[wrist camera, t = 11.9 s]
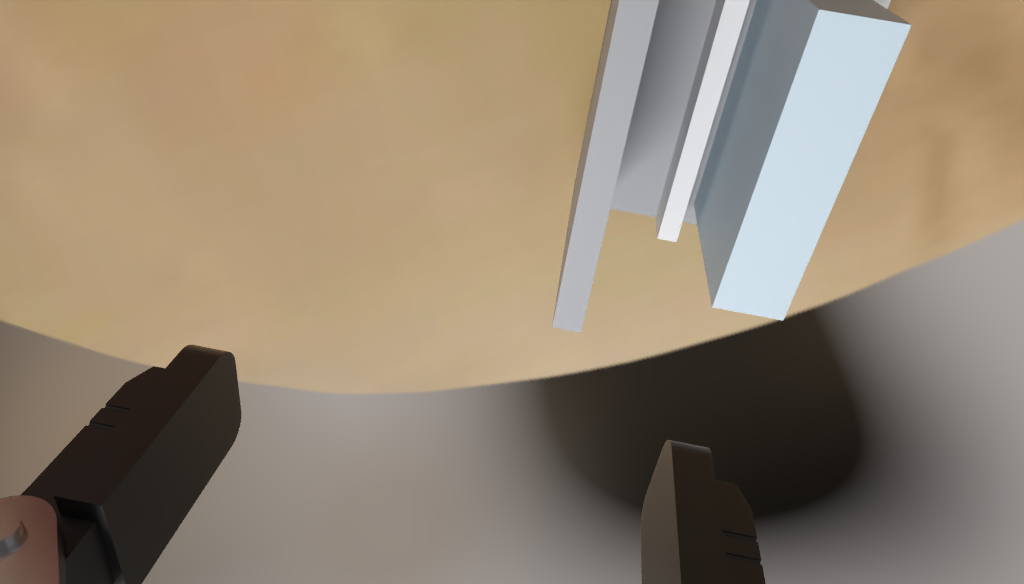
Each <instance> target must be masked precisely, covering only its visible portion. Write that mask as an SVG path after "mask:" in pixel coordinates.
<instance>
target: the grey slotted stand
mask: <svg viewBox="0 0 1024 584" xmlns="http://www.w3.org/2000/svg"><path fill="white" fill-rule="evenodd" d="M756 1H757V0H611V5H610V10H609V15H608V20H607V25H606V30H605V35H604V40H603V45H602V50H601V55H600V60H599V65H598V70H597V75H596V80H595V85H594V90H593V95H592V100H591V105H590V110H589V115H588V120H587V125H586V130H585V135H584V140H583V145H582V150H581V155H580V160H579V165H578V170H577V175H576V180H575V185H574V191H573V197H572V204H571V210H570V217H569V223H568V229H567V236H566V242H565V248H564V255H563V261H562V267H561V274H560V280H559V287H558V293H557V299H556V306H555V312H554V318H553V325H552V327H553V328H559V329H564V330H569V331H574V332H580V333H581V330H582V326H583V322H584V317H585V313H586V309H587V305H588V300H589V296H590V292H591V288H592V283H593V279H594V275H595V271H596V266H597V262H598V258H599V254H600V249H601V245H602V241H603V237H604V232H605V228H606V224H607V220H608V215H609V211H610V209H614V210H620V211H625V212H631V213H636V214H642V215H647V216H653V217H656V227H657V239H662V240H668V241H673V242H676V241H677V238H678V235H679V232H680V228H681V225H682V222H685V223H691V224H696V225H697V220H696V215H695V209H694V202H695V198H696V195H697V192H698V189H699V186H700V182H701V179H702V176H703V173H704V169H705V166H706V163H707V160H708V156H709V153H710V150H711V147H712V144H713V140H714V137H715V134H716V131H717V127H718V124H719V121H720V118H721V114H722V111H723V108H724V105H725V102H726V98H727V95H728V92H729V89H730V85H731V82H732V79H733V76H734V72H735V69H736V66H737V63H738V59H739V56H740V53H741V50H742V47H743V43H744V40H745V37H746V34H747V30H748V27H749V24H750V21H751V17H752V14H753V11H754V8H755V5H756ZM874 1H875V2H877V3H878V4H880V5H881V6H883V7H884V8H886V9H888V7H889V4H890V2H891V0H874Z"/></svg>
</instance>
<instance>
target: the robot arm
mask: <svg viewBox="0 0 1024 584" xmlns="http://www.w3.org/2000/svg"><path fill="white" fill-rule="evenodd" d="M240 422H241V405H240V397H239V389H238V380H237V371H236V363H235V358H234V356H233V354H232V353H231V352H226V351H221V350H216V349H211V348H206V347H201V346H196V345H188V346H186V347H184V348H183V349H182V350H181V351H180V353H179V354H178V355H177V356H176V357H175V358H174V359H173V360H172V362H171V363H170V364H169V365H168V366H167V367H166V368H165V369H164V368H159V367H152V368H150V369H148V370H147V371H145V372H143V373H141V374H140V375H138V376H136V377H135V378H133V379H131V380H129V381H128V382H126V383H125V384H124V385H123V386H122V387H121V388H120V389H119V390H118V391H117V392H116V394H115V395H114V396H113V397H112V398H111V399H110V400H109V401H108V402H107V403H106V407H105V408H102V409H101V410H100V411H99V412H98V413H97V414H96V415H95V416H94V417H93V418H92V419H91V420H90V424H89V426H85V427H84V428H83V429H82V430H81V431H80V432H79V433H78V434H77V435H76V437H75V438H74V439H73V440H72V441H71V442H70V443H69V444H68V445H67V446H66V447H65V448H64V449H63V450H62V452H61V453H60V454H59V455H58V456H57V457H56V458H55V459H54V460H53V461H52V462H51V463H50V464H49V466H48V467H47V468H46V469H45V470H44V471H43V472H42V473H41V474H40V475H39V476H38V478H36V480H35V481H34V482H33V483H32V484H31V485H30V486H29V487H28V488H27V489H26V490H25V491H24V492H23V493H22V494H21V495H19V496H9V497H5V498H0V584H142V582H143V581H144V579H145V578H146V576H147V575H148V573H149V572H150V570H151V569H152V567H153V566H154V564H155V563H156V561H157V559H158V558H159V556H160V555H161V553H162V552H163V550H164V549H165V547H166V546H167V544H168V543H169V541H170V540H171V538H172V537H173V535H174V534H175V532H176V531H177V529H178V527H179V526H180V524H181V523H182V521H183V520H184V518H185V517H186V515H187V514H188V512H189V510H190V509H191V508H192V506H193V505H194V503H195V502H196V500H197V498H198V497H199V495H200V494H201V492H202V491H203V489H204V488H205V486H206V485H207V483H208V482H209V480H210V479H211V477H212V475H213V474H214V473H215V471H216V469H217V468H218V467H219V465H220V463H221V462H222V460H223V459H224V457H225V456H226V454H227V452H228V451H229V450H230V448H231V447H232V445H233V443H234V441H235V439H236V437H237V434H238V431H239V427H240ZM756 538H757V535H756V530H755V524H754V519H753V514H752V510H751V508H750V506H749V504H748V503H747V501H746V500H745V498H744V496H743V495H742V493H741V492H740V490H739V488H738V487H737V485H736V484H735V483H730V482H725V481H719V480H715V474H714V467H713V459H712V453H711V450H710V449H709V448H707V447H702V446H697V445H692V444H686V443H681V442H676V441H671V440H667V441H666V442H665V445H664V447H663V449H662V452H661V455H660V458H659V460H658V463H657V466H656V469H655V472H654V474H653V477H652V480H651V483H650V486H649V488H648V491H647V494H646V497H645V501H644V506H643V512H642V519H641V563H642V564H641V566H642V567H641V568H642V584H765V578H764V573H763V568H762V565H760V561H761V557H760V551H759V546H758V542H756Z"/></svg>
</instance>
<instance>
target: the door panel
mask: <svg viewBox="0 0 1024 584" xmlns="http://www.w3.org/2000/svg"><path fill="white" fill-rule="evenodd" d="M910 27H911V24H909V23H908V22H906V21H905V20H903V19H902V18H900V17H898V16H897V15H895V14H894V13H892V12H891V11H889V10H888V9H886V8H884V7H883V6H881V5H880V4H878V3H877V2H875V1H874V0H757V1H756V5H755V8H754V11H753V14H752V17H751V21H750V24H749V27H748V30H747V34H746V37H745V40H744V43H743V47H742V50H741V53H740V56H739V59H738V63H737V66H736V69H735V72H734V76H733V79H732V82H731V85H730V89H729V92H728V95H727V98H726V102H725V105H724V108H723V111H722V114H721V118H720V121H719V124H718V127H717V131H716V134H715V137H714V140H713V144H712V147H711V150H710V153H709V156H708V160H707V163H706V166H705V169H704V173H703V176H702V179H701V182H700V186H699V189H698V192H697V195H696V198H695V202H694V209H695V215H696V220H697V226H698V232H699V237H700V243H701V248H702V254H703V259H704V265H705V270H706V276H707V282H708V287H709V293H710V298H711V304H712V307H714V308H719V309H724V310H730V311H735V312H740V313H746V314H751V315H756V316H761V317H767V318H772V319H777V320H784V317H785V315H786V313H787V310H788V308H789V306H790V304H791V301H792V299H793V297H794V294H795V292H796V290H797V287H798V285H799V283H800V281H801V278H802V276H803V274H804V271H805V269H806V267H807V264H808V262H809V260H810V258H811V255H812V253H813V251H814V248H815V246H816V244H817V241H818V239H819V237H820V235H821V232H822V230H823V228H824V225H825V223H826V221H827V218H828V216H829V214H830V212H831V209H832V207H833V205H834V202H835V200H836V198H837V195H838V193H839V191H840V189H841V186H842V184H843V182H844V179H845V177H846V175H847V172H848V170H849V168H850V166H851V163H852V161H853V159H854V156H855V154H856V152H857V149H858V147H859V145H860V142H861V140H862V138H863V136H864V133H865V131H866V129H867V126H868V124H869V122H870V119H871V117H872V115H873V113H874V110H875V108H876V106H877V103H878V101H879V99H880V96H881V94H882V92H883V90H884V87H885V85H886V83H887V80H888V78H889V76H890V73H891V71H892V69H893V67H894V64H895V62H896V60H897V57H898V55H899V53H900V50H901V48H902V46H903V44H904V41H905V39H906V37H907V34H908V32H909V30H910Z"/></svg>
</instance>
